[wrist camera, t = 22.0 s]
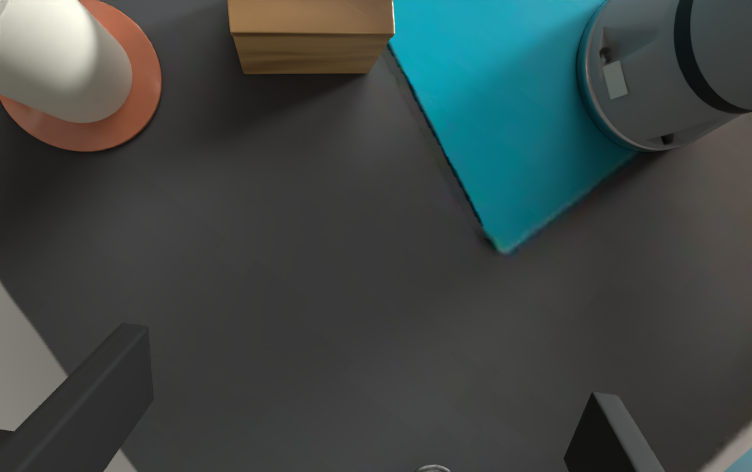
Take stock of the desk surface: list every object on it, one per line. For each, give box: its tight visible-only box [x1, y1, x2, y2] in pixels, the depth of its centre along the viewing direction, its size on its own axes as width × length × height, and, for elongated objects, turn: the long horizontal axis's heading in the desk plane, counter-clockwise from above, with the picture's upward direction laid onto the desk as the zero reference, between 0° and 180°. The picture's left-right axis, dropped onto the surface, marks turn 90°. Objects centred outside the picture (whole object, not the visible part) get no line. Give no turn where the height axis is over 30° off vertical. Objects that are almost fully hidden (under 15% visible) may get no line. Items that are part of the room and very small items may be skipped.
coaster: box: [0, 0, 163, 152], centre depth 33 cm, size 11×11×1 cm
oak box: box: [227, 0, 395, 74], centre depth 32 cm, size 6×10×8 cm, turn 94°
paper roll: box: [0, 0, 132, 123], centre depth 25 cm, size 16×7×16 cm
